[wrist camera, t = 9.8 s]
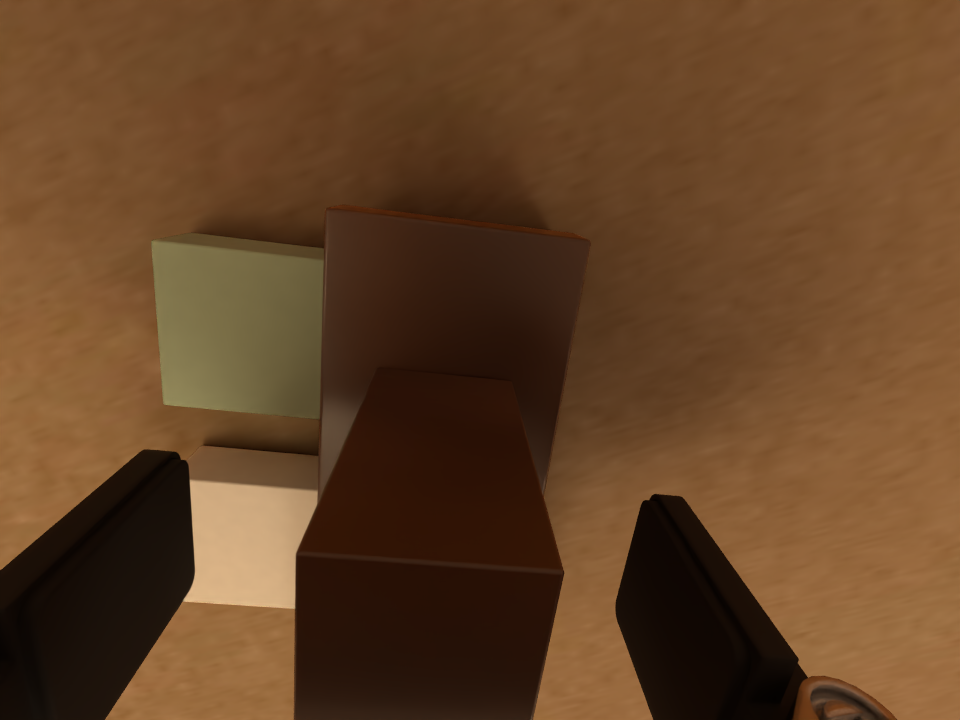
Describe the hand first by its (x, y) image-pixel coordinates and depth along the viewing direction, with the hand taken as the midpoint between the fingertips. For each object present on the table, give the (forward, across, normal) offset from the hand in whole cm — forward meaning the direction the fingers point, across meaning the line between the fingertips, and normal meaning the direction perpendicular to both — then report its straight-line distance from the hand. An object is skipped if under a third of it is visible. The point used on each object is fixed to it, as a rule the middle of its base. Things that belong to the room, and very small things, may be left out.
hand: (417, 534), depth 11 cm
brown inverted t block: (+5, 0, 0) cm, 5 cm away
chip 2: (+5, +4, +3) cm, 7 cm away
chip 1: (+5, +4, -3) cm, 7 cm away
